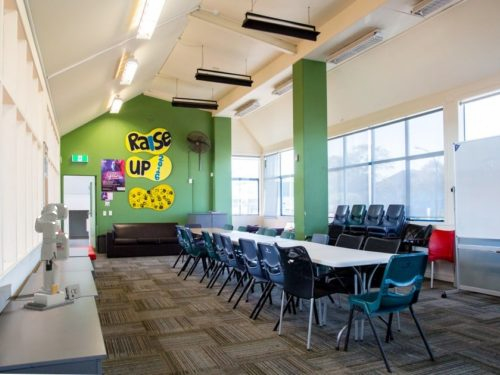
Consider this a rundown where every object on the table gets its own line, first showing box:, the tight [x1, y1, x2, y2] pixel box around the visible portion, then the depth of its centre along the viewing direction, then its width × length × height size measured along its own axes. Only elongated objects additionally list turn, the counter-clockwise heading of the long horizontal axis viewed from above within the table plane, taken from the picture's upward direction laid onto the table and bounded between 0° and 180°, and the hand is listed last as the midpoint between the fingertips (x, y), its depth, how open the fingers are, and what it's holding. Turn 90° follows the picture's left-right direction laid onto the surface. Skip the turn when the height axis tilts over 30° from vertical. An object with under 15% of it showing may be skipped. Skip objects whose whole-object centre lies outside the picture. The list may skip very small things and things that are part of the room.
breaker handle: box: [51, 284, 59, 294], centre depth 250 cm, size 2×3×5 cm, turn 152°
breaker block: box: [23, 289, 75, 312], centre depth 252 cm, size 19×21×9 cm
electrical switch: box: [64, 283, 82, 300], centre depth 270 cm, size 9×5×9 cm, turn 152°
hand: (48, 270), depth 253 cm, fingers closed
